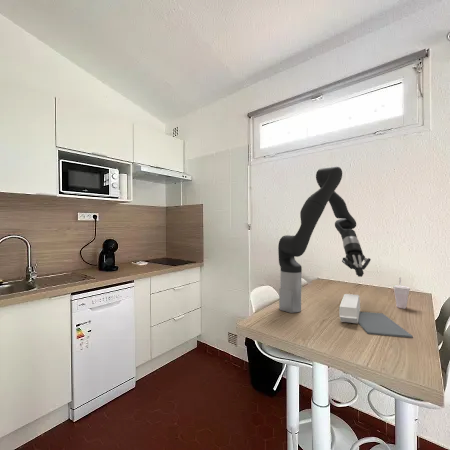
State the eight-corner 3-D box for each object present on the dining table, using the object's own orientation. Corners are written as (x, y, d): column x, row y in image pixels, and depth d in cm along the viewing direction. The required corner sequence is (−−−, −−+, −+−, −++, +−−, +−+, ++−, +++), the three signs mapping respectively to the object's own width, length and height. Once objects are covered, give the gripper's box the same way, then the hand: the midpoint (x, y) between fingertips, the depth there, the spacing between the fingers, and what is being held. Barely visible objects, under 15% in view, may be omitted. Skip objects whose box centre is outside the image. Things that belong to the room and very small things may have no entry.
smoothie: (393, 304, 117) (393, 275, 118) (410, 307, 113) (410, 277, 114) (392, 307, 113) (392, 277, 113) (409, 310, 108) (409, 279, 109)
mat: (412, 337, 81) (412, 336, 81) (367, 333, 84) (367, 332, 84) (382, 314, 103) (382, 313, 103) (347, 312, 105) (347, 310, 105)
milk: (360, 307, 107) (357, 327, 89) (345, 306, 111) (339, 325, 92) (359, 294, 107) (356, 310, 89) (344, 293, 111) (338, 309, 92)
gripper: (339, 241, 121) (346, 270, 109) (368, 242, 118) (379, 271, 106) (336, 251, 126) (343, 279, 114) (364, 251, 123) (374, 280, 111)
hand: (360, 275), depth 110 cm, fingers closed
